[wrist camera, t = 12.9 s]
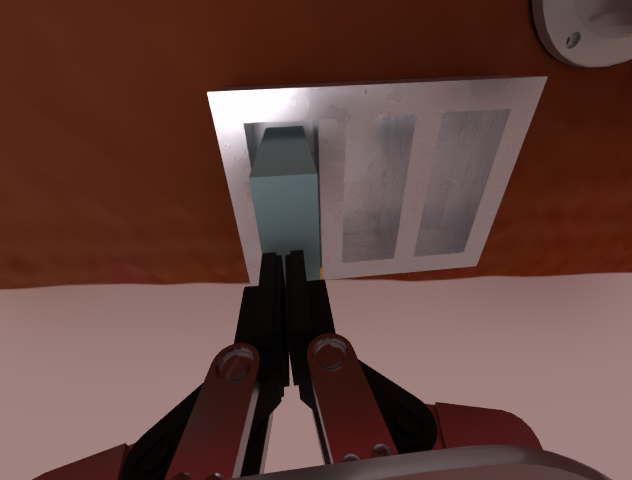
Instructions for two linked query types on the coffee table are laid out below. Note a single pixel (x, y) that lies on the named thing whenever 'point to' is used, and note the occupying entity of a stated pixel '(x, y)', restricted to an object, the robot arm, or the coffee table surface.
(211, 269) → the coffee table surface
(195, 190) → the coffee table surface
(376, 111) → the frame
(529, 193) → the coffee table surface
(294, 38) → the coffee table surface
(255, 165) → the panel
